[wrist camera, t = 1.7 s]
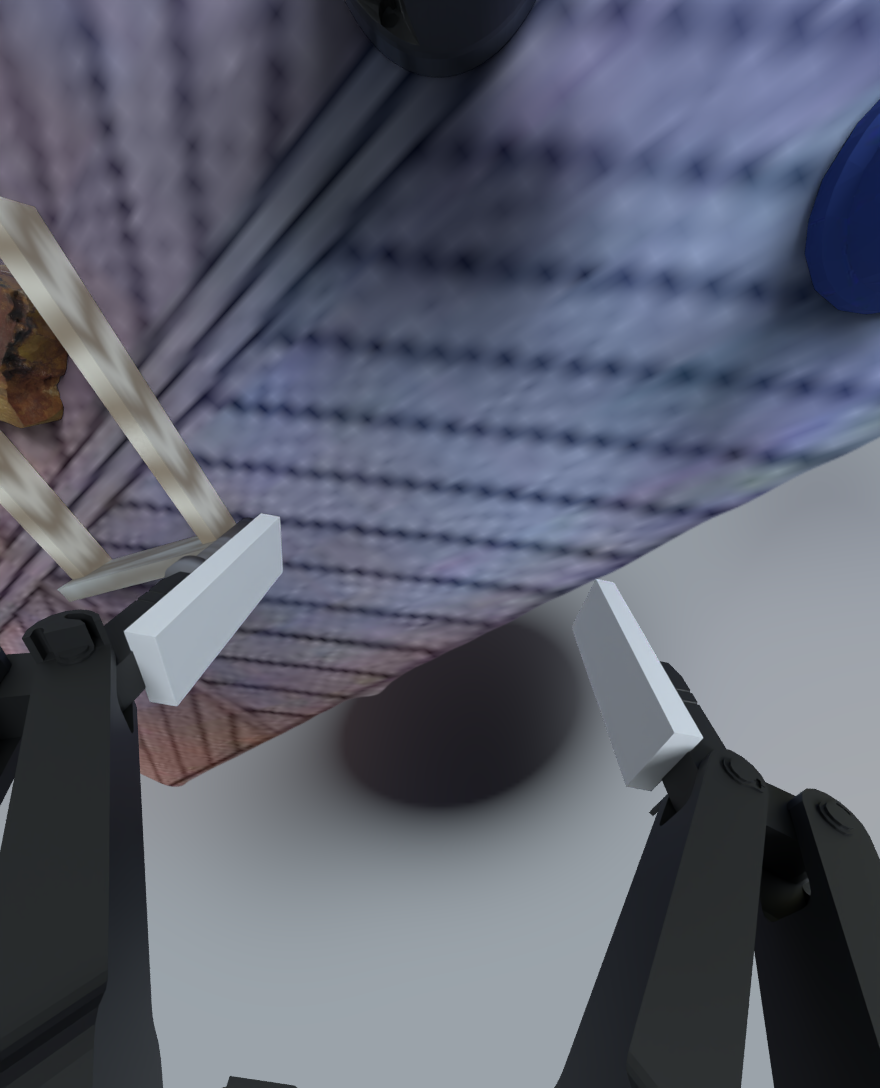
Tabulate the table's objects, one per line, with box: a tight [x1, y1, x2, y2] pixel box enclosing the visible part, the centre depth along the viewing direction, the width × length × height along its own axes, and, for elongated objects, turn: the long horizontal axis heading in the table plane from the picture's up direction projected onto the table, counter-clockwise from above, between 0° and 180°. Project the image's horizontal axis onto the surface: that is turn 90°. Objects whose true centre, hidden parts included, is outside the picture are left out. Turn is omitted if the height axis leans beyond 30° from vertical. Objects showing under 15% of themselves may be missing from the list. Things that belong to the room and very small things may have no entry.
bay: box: [0, 197, 254, 602], centre depth 35 cm, size 34×26×12 cm
